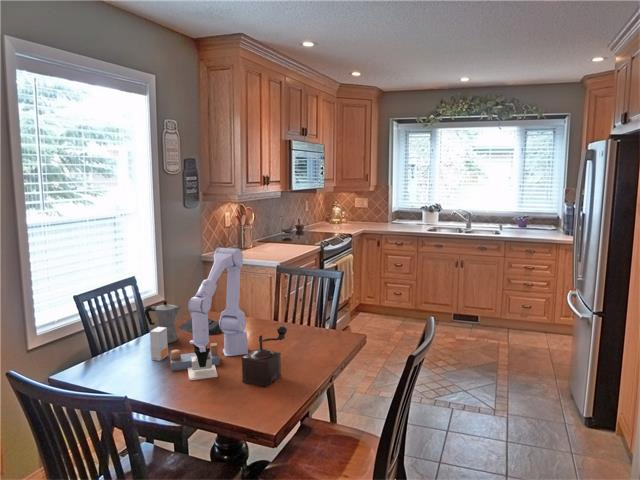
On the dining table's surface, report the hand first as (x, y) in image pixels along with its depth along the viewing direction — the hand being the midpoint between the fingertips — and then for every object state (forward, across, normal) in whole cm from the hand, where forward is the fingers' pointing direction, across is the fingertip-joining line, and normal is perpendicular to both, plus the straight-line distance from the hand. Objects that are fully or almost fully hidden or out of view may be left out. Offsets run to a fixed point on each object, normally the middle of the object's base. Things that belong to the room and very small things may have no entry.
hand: (201, 363), depth 180 cm
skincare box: (+4, -21, -15) cm, 26 cm away
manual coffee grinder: (+4, +11, +22) cm, 25 cm away
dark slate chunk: (+4, -53, +5) cm, 53 cm away
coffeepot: (+4, -42, -13) cm, 44 cm away
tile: (+4, 0, 0) cm, 4 cm away
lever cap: (+1, 0, 0) cm, 1 cm away
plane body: (+4, -10, -2) cm, 11 cm away
